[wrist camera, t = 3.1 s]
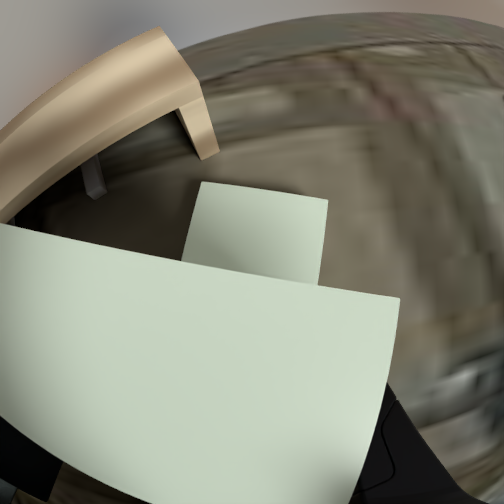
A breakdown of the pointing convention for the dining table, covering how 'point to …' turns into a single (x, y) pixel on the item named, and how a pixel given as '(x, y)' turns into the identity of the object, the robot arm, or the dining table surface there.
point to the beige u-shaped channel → (98, 118)
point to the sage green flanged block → (197, 356)
